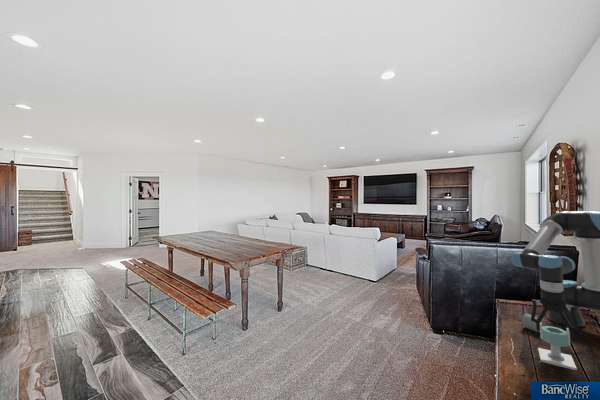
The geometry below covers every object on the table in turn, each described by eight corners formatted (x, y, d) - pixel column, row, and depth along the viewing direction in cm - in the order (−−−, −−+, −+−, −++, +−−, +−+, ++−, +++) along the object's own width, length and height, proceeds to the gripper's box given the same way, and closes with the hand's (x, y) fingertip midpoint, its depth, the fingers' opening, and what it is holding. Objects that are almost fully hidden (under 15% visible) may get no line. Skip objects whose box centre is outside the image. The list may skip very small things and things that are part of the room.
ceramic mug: (539, 335, 134) (538, 320, 134) (521, 328, 142) (520, 314, 142) (551, 331, 138) (550, 316, 138) (532, 324, 145) (532, 311, 146)
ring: (554, 336, 118) (553, 325, 118) (573, 345, 110) (572, 334, 110) (537, 337, 118) (537, 326, 118) (555, 347, 110) (555, 335, 110)
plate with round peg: (538, 349, 122) (536, 328, 122) (571, 357, 115) (569, 335, 115) (540, 361, 113) (539, 338, 113) (576, 370, 106) (575, 346, 106)
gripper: (520, 288, 119) (523, 336, 118) (587, 297, 105) (591, 353, 104) (521, 283, 124) (524, 330, 124) (584, 292, 110) (588, 345, 110)
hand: (554, 340), depth 114 cm, fingers closed on ring, 8 cm apart
